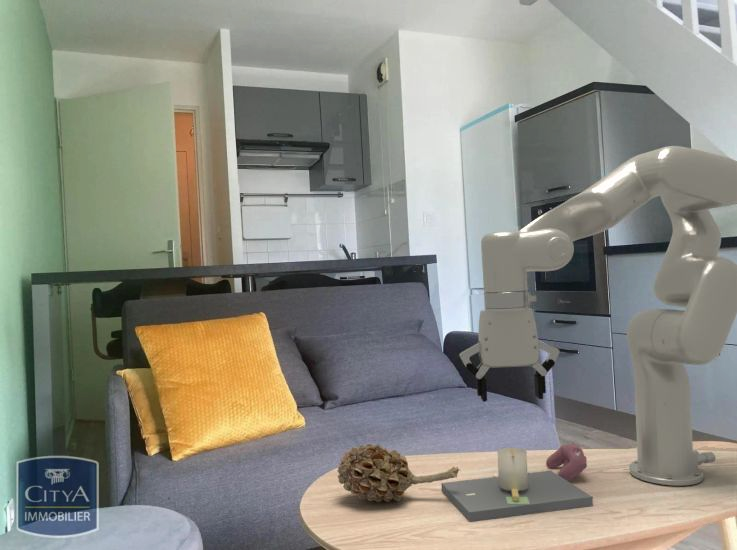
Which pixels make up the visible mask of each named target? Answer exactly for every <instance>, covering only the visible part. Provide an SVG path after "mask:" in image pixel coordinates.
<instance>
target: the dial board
mask: <svg viewBox="0 0 737 550" xmlns="http://www.w3.org/2000/svg"><path fill="white" fill-rule="evenodd" d="M440 485H441V493H442V494H444V496H446V498H447V499H448V500H449V501H450V502H451V504H452V505H454V506H455V508H456V509H457V510H458V512H459V513H461V514H462V515H463V516H464V517H465V519H466V520H467V521H468V522H478V521H484V520H493V519H501V518H508V517H509V518H510V517H516V516H524V515H530V514H539V513H547V512H548V513H549V512H555V511H563V510H569V509H570V510H571V509H579V508H586V507H593V506H594V497H593V495H591V494H589V493H588V492H586V491H584V490H582V489H581V488H580V487H577V485H575V484H573V483H572V482H571V481H569V482H568V481H567V480H565V479H564V478H562V477H560V476H559V475H558V473H555V472H554V471H552V470H545V471H544V470H543V471H535V472H528V488H527V489H525V490H521V491H518V494H519V501H513V498H512V492H511V491H510V490H505V489H502V488H501V487H500V486H499V476H492V477H483V478H482V477H481V478H474V479H463V480H457V481H447V482H441V483H440Z"/></svg>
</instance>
